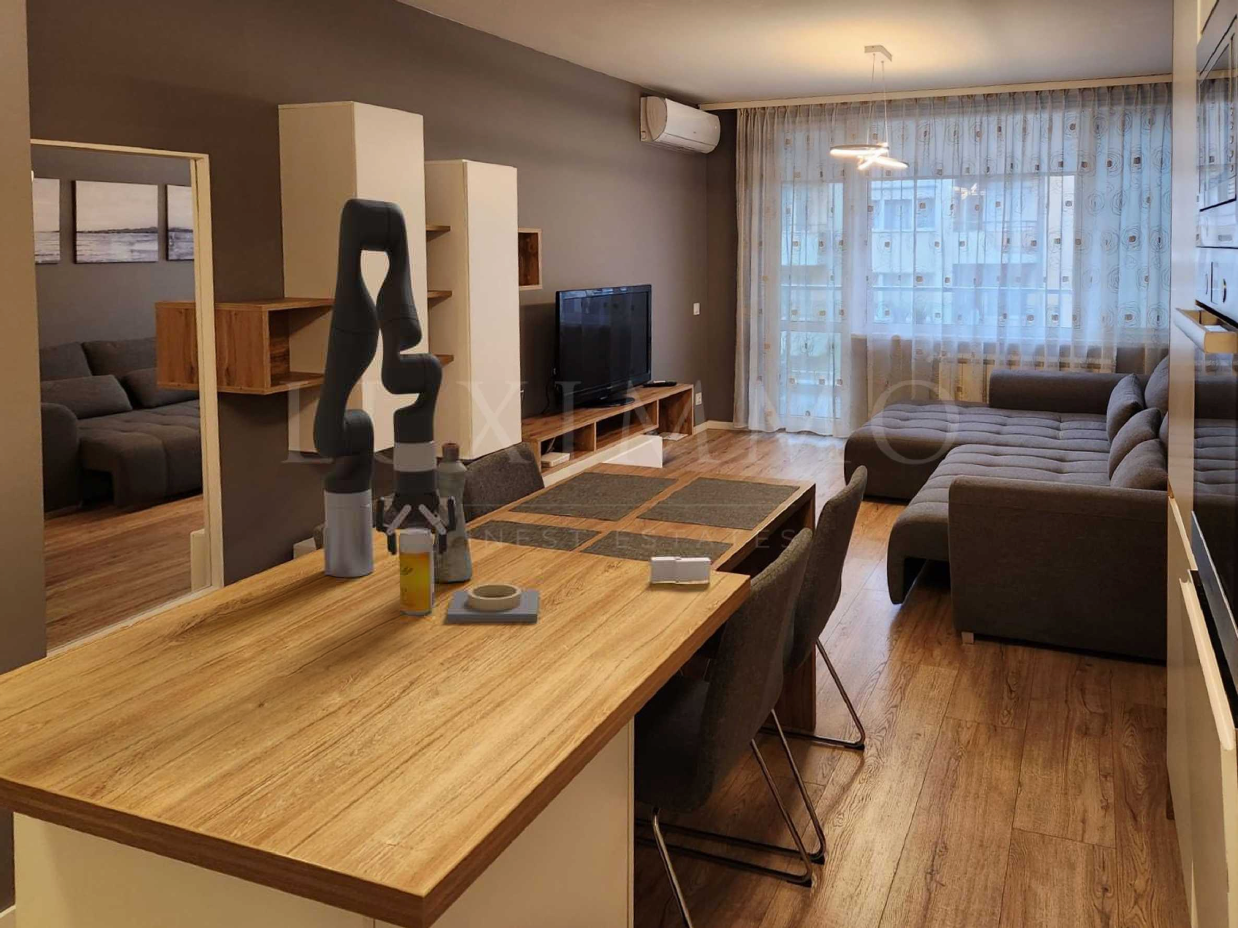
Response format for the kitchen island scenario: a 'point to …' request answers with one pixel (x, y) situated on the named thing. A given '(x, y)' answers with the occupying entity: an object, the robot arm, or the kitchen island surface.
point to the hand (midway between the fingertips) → (418, 553)
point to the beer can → (416, 571)
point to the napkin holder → (680, 569)
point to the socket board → (494, 604)
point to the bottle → (457, 555)
